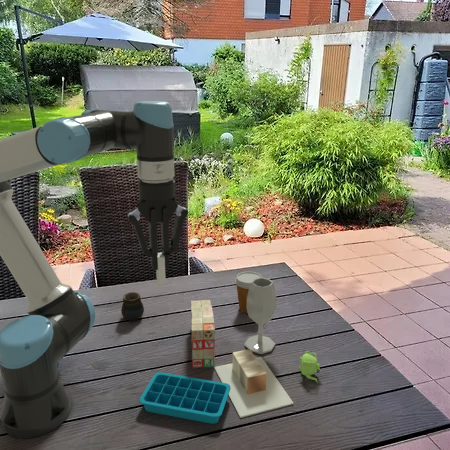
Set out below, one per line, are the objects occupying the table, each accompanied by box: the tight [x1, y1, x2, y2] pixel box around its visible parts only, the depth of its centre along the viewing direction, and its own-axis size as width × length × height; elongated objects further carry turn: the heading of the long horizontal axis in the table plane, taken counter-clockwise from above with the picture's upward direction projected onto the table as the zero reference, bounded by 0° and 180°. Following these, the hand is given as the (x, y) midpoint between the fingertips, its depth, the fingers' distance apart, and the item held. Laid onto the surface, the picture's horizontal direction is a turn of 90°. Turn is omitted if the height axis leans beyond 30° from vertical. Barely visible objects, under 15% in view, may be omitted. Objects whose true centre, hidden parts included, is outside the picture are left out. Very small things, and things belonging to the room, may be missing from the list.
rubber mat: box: [213, 356, 294, 419], centre depth 116 cm, size 14×20×1 cm
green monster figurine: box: [298, 350, 321, 384], centre depth 120 cm, size 6×5×6 cm
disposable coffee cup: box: [234, 271, 263, 314], centre depth 151 cm, size 10×10×12 cm
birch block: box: [231, 348, 267, 394], centre depth 117 cm, size 5×5×11 cm
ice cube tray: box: [139, 371, 231, 425], centre depth 109 cm, size 12×20×3 cm, turn 76°
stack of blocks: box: [190, 299, 216, 369], centre depth 131 cm, size 21×6×12 cm, turn 5°
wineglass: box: [244, 276, 278, 355], centre depth 129 cm, size 9×9×21 cm
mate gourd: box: [120, 291, 145, 322], centre depth 145 cm, size 7×8×10 cm
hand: (161, 281), depth 100 cm, fingers closed
